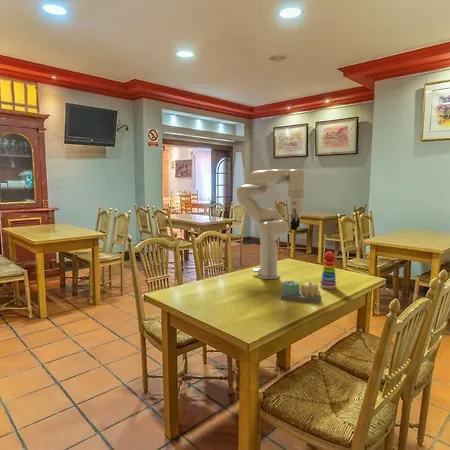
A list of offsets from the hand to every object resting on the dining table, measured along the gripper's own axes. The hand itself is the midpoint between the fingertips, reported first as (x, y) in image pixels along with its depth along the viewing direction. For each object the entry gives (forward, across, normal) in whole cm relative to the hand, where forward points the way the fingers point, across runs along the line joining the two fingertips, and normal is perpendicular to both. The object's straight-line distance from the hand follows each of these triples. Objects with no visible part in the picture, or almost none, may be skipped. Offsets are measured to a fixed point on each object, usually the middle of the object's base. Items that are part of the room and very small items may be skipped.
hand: (295, 228), depth 177 cm
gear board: (+30, -16, -5) cm, 35 cm away
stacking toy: (+30, +3, -17) cm, 35 cm away
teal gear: (+28, -16, 0) cm, 32 cm away
